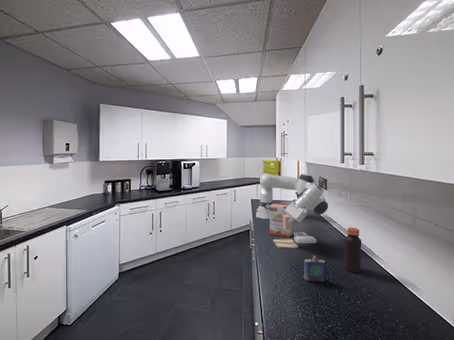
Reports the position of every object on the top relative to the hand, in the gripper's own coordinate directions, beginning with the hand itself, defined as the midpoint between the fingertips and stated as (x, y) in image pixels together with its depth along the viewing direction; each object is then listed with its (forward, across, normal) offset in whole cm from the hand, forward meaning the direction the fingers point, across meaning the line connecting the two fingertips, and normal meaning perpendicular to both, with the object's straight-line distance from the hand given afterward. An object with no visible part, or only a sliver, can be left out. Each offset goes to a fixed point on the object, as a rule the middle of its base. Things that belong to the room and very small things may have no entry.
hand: (286, 221), depth 135 cm
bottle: (-5, -32, -26) cm, 41 cm away
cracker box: (+9, +17, -12) cm, 23 cm away
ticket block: (+3, 0, -4) cm, 4 cm away
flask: (+10, -38, -11) cm, 41 cm away
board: (+11, +1, -10) cm, 15 cm away
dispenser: (+1, +8, -20) cm, 21 cm away
